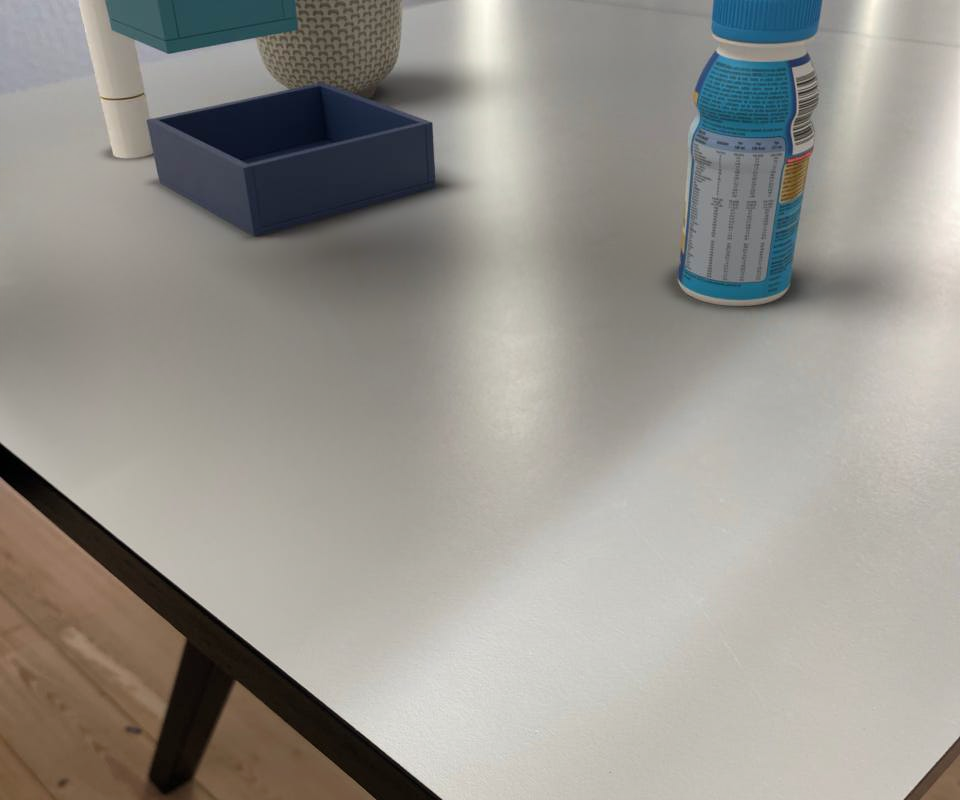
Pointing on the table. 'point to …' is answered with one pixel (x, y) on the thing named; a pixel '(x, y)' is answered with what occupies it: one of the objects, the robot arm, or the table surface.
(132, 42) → the tube
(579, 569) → the table surface
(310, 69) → the planter
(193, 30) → the teal bin
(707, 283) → the beverage bottle
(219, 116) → the navy bin
